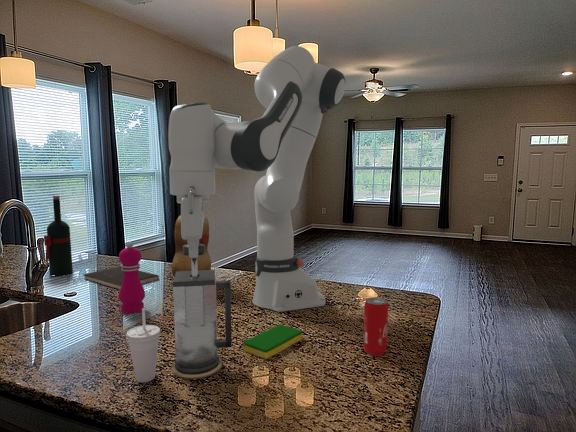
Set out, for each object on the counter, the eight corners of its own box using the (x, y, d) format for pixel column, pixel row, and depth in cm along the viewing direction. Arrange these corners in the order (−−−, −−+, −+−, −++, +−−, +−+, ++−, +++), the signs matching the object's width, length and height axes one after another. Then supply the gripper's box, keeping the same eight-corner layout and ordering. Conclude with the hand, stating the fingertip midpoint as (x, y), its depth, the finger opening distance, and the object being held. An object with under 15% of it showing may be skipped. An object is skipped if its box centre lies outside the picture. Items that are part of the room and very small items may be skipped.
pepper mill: (137, 315, 117) (133, 245, 114) (113, 313, 118) (110, 244, 116) (150, 306, 124) (147, 240, 121) (128, 305, 125) (125, 239, 123)
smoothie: (165, 369, 86) (163, 304, 85) (157, 385, 80) (154, 315, 78) (134, 369, 86) (131, 304, 84) (123, 386, 80) (119, 315, 78)
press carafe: (230, 352, 94) (229, 267, 92) (233, 375, 84) (231, 280, 81) (173, 357, 92) (170, 270, 89) (169, 381, 82) (165, 284, 79)
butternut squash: (192, 291, 139) (190, 216, 136) (164, 285, 146) (161, 214, 143) (219, 281, 151) (218, 212, 148) (192, 276, 158) (190, 210, 155)
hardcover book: (119, 291, 140) (119, 284, 140) (83, 280, 154) (82, 274, 153) (159, 280, 153) (158, 274, 153) (122, 271, 167) (122, 265, 166)
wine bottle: (39, 276, 157) (33, 196, 154) (65, 270, 166) (60, 194, 162) (51, 278, 153) (45, 197, 150) (77, 272, 162) (72, 195, 158)
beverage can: (370, 344, 98) (371, 295, 97) (390, 350, 95) (392, 300, 94) (359, 352, 94) (360, 300, 93) (380, 359, 91) (381, 306, 90)
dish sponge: (242, 351, 95) (242, 341, 95) (280, 332, 106) (280, 323, 106) (266, 361, 91) (266, 350, 91) (303, 340, 102) (303, 330, 102)
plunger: (210, 307, 90) (209, 242, 88) (210, 317, 84) (209, 248, 82) (181, 309, 89) (179, 243, 87) (179, 319, 83) (177, 249, 81)
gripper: (208, 188, 73) (210, 265, 75) (209, 183, 93) (210, 244, 95) (171, 188, 72) (173, 266, 74) (179, 183, 92) (181, 244, 94)
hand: (194, 253), depth 85 cm, fingers closed on plunger, 4 cm apart
